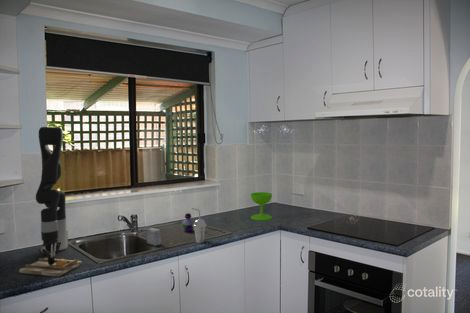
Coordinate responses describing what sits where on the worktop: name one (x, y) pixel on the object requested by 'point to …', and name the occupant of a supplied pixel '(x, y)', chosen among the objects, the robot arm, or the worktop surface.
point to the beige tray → (49, 267)
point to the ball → (61, 263)
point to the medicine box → (153, 236)
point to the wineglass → (261, 204)
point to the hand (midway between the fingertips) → (51, 264)
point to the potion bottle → (188, 223)
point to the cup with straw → (199, 228)
